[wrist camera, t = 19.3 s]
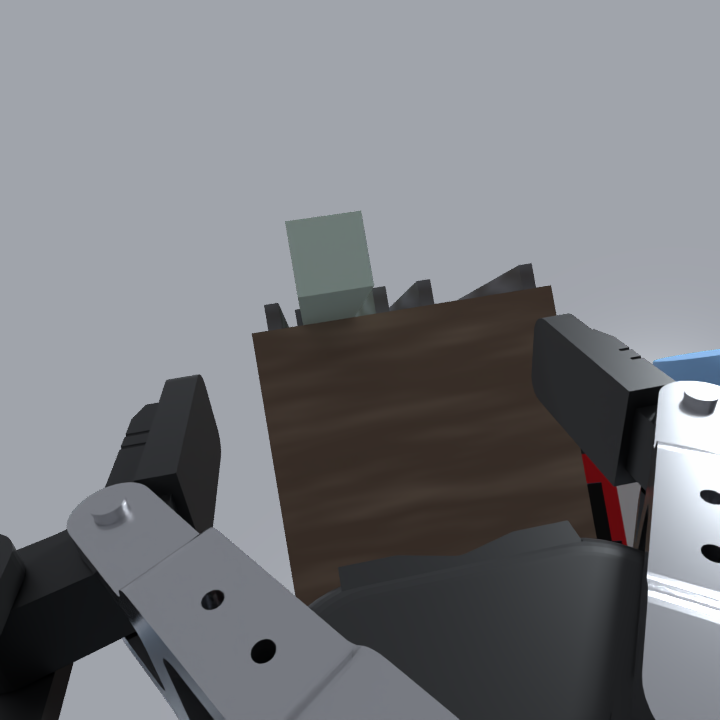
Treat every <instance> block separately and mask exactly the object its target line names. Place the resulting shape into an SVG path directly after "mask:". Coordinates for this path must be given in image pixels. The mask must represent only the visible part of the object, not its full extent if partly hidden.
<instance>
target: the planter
mask: <svg viewBox="0 0 720 720" xmlns="http://www.w3.org/2000/svg"><path fill="white" fill-rule="evenodd" d="M653 365H654V366H655V367H657V368H658V369H660V370H661V371H662V372H664V373H665V374H666V375H668V376H669V377H671V378H672V379H673V380H675V381H676V382H678V381H697V382H704V383H709V384H713V385H716V386H719V387H720V349H717V350H709V351H702V352H696V353H689V354H683V355H677V356H671V357H666V358H661V359H658V360H654V361H653Z"/></svg>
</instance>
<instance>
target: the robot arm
mask: <svg viewBox="0 0 720 720" xmlns="http://www.w3.org/2000/svg"><path fill="white" fill-rule="evenodd" d="M531 377H532V385H533V389H534V392H535V394H536V396H537V398H538V400H539V401H540V402H541V403H542V404H543V405H544V407H545V408H546V409H547V410H548V411H549V412H550V414H551V415H552V416H553V417H554V418H555V419H556V421H557V422H558V423H559V424H560V425H561V426H562V427H563V429H564V430H565V431H566V432H567V433H568V434H569V436H570V437H571V438H572V439H573V440H574V441H575V442H576V444H577V445H578V446H579V447H580V448H581V449H582V451H583V452H584V453H585V454H586V455H587V456H588V457H589V459H590V460H591V461H592V462H593V463H594V464H595V466H596V467H597V468H598V469H599V470H600V471H601V472H602V474H603V475H604V476H605V477H606V478H607V479H608V481H609V482H610V483H611V484H612V485H613V486H614V487H615V486H620V485H625V484H630V483H635V482H638V483H639V484H640V485H641V488H640V493H639V498H638V506H637V515H636V524H635V533H634V542H633V547H630V546H627V545H623V544H620V543H616V542H612V541H607V540H601V539H593V538H580V537H579V536H578V534H577V533H576V531H575V530H574V528H573V527H572V526H571V524H570V523H569V521H568V520H567V521H562V522H557V523H552V524H547V525H542V526H537V527H532V528H528V529H523V530H518V531H513V532H511V533H509V534H507V535H504V536H502V537H500V538H498V539H496V540H494V541H492V542H489V543H487V544H485V545H483V546H481V547H479V548H476V549H474V550H472V551H470V552H468V553H466V554H463V555H459V556H411V555H396V556H391V557H386V558H381V559H376V560H371V561H366V562H361V563H356V564H352V565H347V566H342V567H338V571H339V578H340V584H341V586H340V587H338V588H336V589H334V590H332V591H330V592H328V593H326V594H325V595H323V596H321V597H320V598H318V599H317V600H315V601H314V602H313V603H311V604H310V605H309V606H306V605H305V604H304V603H303V602H302V601H300V600H299V599H298V598H297V597H296V596H295V595H293V594H292V593H291V592H290V591H289V590H288V589H286V588H285V587H284V586H283V585H282V584H280V583H279V582H278V581H277V580H276V579H274V578H273V577H272V576H271V575H270V574H269V573H267V572H266V571H265V570H264V569H263V568H262V567H261V566H259V565H258V564H257V563H256V562H255V561H253V560H252V559H251V558H250V557H249V556H248V555H246V554H245V553H244V552H243V551H242V550H240V549H239V548H238V547H237V546H236V545H235V544H234V543H232V542H231V541H230V540H229V539H228V538H226V537H225V536H224V535H223V534H222V533H220V532H219V531H218V530H217V529H215V528H213V520H214V512H215V503H216V495H217V486H218V477H219V468H220V459H221V446H220V438H219V433H218V429H217V426H216V422H215V419H214V415H213V412H212V408H211V404H210V401H209V397H208V394H207V390H206V386H205V383H204V381H203V378H202V377H201V375H193V376H187V377H181V378H175V379H169V380H166V382H165V385H164V388H163V391H162V394H161V397H160V400H159V403H154V404H148V405H145V406H144V407H143V408H142V410H140V411H139V412H138V413H137V414H136V415H135V416H134V417H133V419H131V422H130V425H129V427H128V430H127V433H126V437H125V438H124V440H123V443H122V445H121V450H119V453H118V455H117V458H116V461H115V463H114V466H113V468H112V471H111V474H110V476H109V479H108V481H107V484H106V486H105V488H103V489H101V490H99V491H97V492H95V493H94V494H92V495H90V496H89V497H87V498H86V499H85V500H83V501H82V502H81V503H80V504H79V505H78V506H77V507H76V508H75V509H74V510H73V511H72V514H71V515H70V516H69V519H68V521H67V529H66V530H65V531H62V532H60V533H58V534H56V535H53V536H51V537H49V538H46V539H44V540H41V541H39V542H36V543H34V544H31V545H29V546H26V547H24V548H21V549H19V550H16V549H15V547H14V545H13V544H12V542H11V540H10V539H9V538H8V537H6V536H4V535H1V534H0V720H58V719H59V715H60V712H61V708H62V704H63V700H64V696H65V693H66V689H67V685H68V681H69V677H70V673H71V670H72V666H73V662H75V661H77V660H79V659H81V658H83V657H85V656H87V655H89V654H91V653H93V652H95V651H97V650H99V649H101V648H103V647H105V646H107V645H109V644H111V643H113V642H115V641H117V640H119V639H121V638H122V639H123V641H124V643H125V644H126V646H127V647H128V648H129V650H130V651H131V652H132V654H133V655H134V657H135V658H136V659H137V661H138V662H139V663H140V665H141V666H142V668H143V669H144V670H145V672H146V673H147V674H148V676H149V677H150V678H151V680H152V681H153V683H154V684H155V686H156V687H157V688H158V690H159V691H160V692H161V694H162V695H163V697H164V698H165V699H166V701H167V702H168V704H169V705H170V706H171V708H172V709H173V711H174V712H175V714H176V716H177V717H178V719H179V720H720V387H719V386H716V385H713V384H709V383H704V382H697V381H678V382H676V381H675V380H673V379H672V378H671V377H669V376H668V375H666V374H665V373H664V372H662V371H661V370H660V369H658V368H657V367H655V366H654V365H653V364H651V363H650V362H649V361H647V360H646V359H644V358H641V356H640V355H639V354H638V353H636V352H635V351H633V350H632V349H631V350H629V347H628V346H627V345H625V344H624V343H622V342H621V341H619V340H618V339H617V338H615V337H614V336H611V335H608V334H606V333H603V332H600V331H598V330H595V329H593V330H592V329H591V328H589V327H588V326H587V325H585V324H584V323H583V322H581V321H580V320H579V319H577V318H576V317H575V316H573V315H572V314H563V315H557V316H551V317H545V318H540V319H538V320H537V321H536V323H535V327H534V340H533V357H532V375H531Z"/></svg>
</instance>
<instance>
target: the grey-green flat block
mask: <svg viewBox="0 0 720 720" xmlns="http://www.w3.org/2000/svg"><path fill="white" fill-rule="evenodd" d="M285 224H286V230H287V236H288V242H289V247H290V253H291V259H292V265H293V271H294V277H295V283H296V289H297V295H298V300H299V306H300V309H298V310H295V313H296V319H297V325H298V326H302V325H308V324H314V323H321V322H327V321H333V320H339V319H345V318H352V317H355V315H356V314H357V312H358V310H359V309H360V307H361V306H362V304H363V302H364V301H365V299H366V298H367V296H368V295H369V293H370V291H371V290H372V288H373V287H374V283H373V277H372V271H371V265H370V260H369V254H368V248H367V242H366V236H365V231H364V225H363V219H362V214H361V211H356V212H349V213H342V214H335V215H328V216H321V217H314V218H307V219H300V220H293V221H286V222H285Z"/></svg>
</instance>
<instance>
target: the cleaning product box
mask: <svg viewBox="0 0 720 720" xmlns="http://www.w3.org/2000/svg"><path fill="white" fill-rule="evenodd" d="M580 449H581V448H580ZM581 454H582V460H583V465H584V471H585V476H586V482H587V487H588V493H589V498H590V504H591V510H592V515H593V521H594V526H595V532H596V537H597V539H601V540H607V541H612V542H616V543H620V544H623V545H627V546H630V547H633V542H634V533H635V524H636V515H637V506H638V498H639V493H640V488H641V485H640V484H639V483H638V482H635V483H630V484H625V485H620V486H615V487H614V486H613V485H612V484H611V483H610V482H609V481H608V479H607V478H606V477H605V476H604V475H603V474H602V472H601V471H600V470H599V469H598V468H597V467H596V466H595V464H594V463H593V462H592V461H591V460H590V459H589V457H588V456H587V455H586V454H585V453H584V452H583V451H582V449H581Z"/></svg>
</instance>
